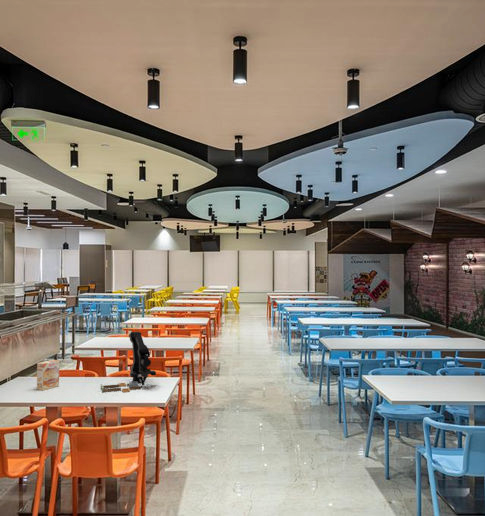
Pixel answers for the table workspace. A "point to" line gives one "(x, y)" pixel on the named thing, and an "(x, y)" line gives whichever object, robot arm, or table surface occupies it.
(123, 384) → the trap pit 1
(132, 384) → the slate block
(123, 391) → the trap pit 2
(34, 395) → the table surface
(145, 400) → the table surface
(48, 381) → the coffeecake box
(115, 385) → the finger box
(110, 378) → the table surface
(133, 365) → the robot arm
